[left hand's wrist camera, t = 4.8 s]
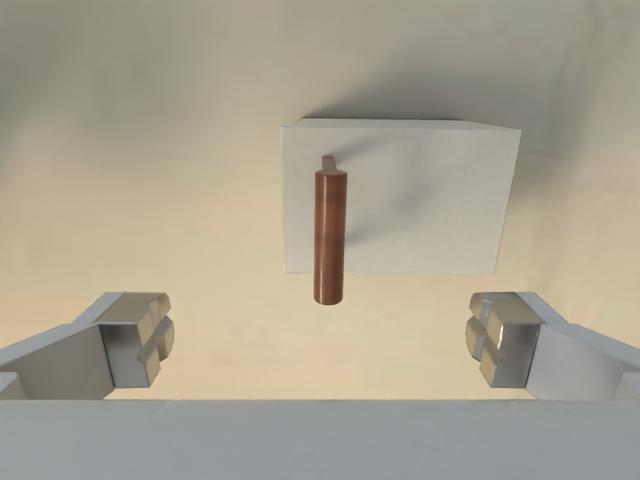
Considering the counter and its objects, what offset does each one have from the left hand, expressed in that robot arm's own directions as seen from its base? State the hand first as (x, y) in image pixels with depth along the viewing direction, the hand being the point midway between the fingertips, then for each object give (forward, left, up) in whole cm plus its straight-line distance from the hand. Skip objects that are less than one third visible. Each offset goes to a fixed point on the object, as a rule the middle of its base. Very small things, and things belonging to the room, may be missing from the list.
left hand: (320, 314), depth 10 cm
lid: (+1, -5, -15) cm, 16 cm away
